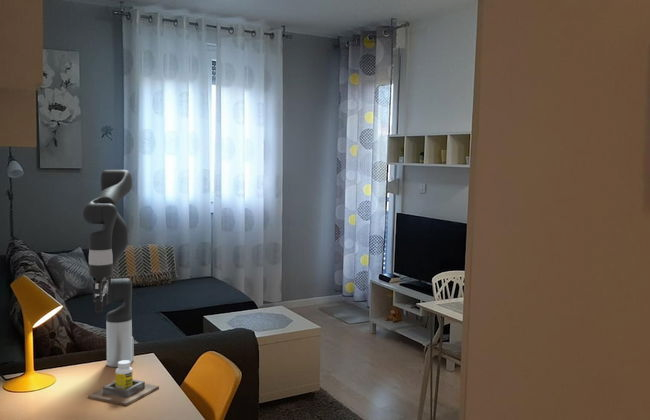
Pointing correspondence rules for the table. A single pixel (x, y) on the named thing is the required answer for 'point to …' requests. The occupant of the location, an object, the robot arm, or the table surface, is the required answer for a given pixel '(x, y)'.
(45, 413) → the table surface
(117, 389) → the bottle caddy
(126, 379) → the supplement bottle
